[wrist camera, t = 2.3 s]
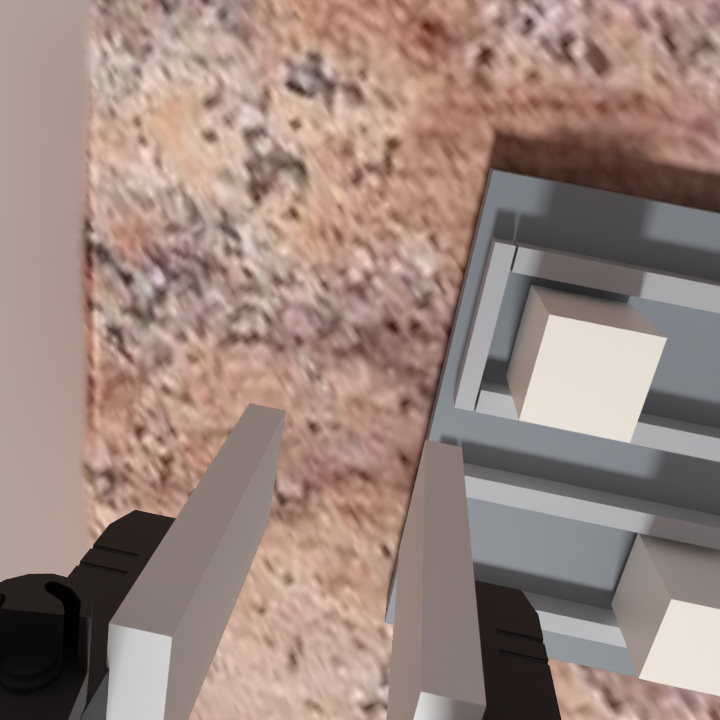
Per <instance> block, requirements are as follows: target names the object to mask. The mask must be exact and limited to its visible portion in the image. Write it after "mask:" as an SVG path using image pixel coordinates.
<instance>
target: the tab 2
mask: <svg viewBox="0 0 720 720" xmlns="http://www.w3.org/2000/svg"><path fill="white" fill-rule="evenodd" d="M611 606H612V609H613V611H614V614H615V617H616V619H617V622H618V625H619V627H620V630H621V633H622V635H623V638H624V641H625V644H626V646H627V649H628V652H629V654H630V657H631V660H632V662H633V665H634V668H635V670H636V673H637V676H638V678H639V679H643V680H648V681H652V682H657V683H661V684H666V685H671V686H675V687H680V688H685V689H689V690H694V691H698V692H703V693H708V694H712V695H717V696H720V550H718V549H713V548H708V547H703V546H699V545H694V544H689V543H684V542H679V541H675V540H670V539H665V538H660V537H656V536H651V535H646V534H641V533H638V534H637V537H636V540H635V542H634V545H633V548H632V550H631V553H630V555H629V558H628V561H627V563H626V566H625V569H624V571H623V574H622V577H621V579H620V582H619V585H618V587H617V590H616V592H615V595H614V598H613V600H612V603H611Z"/></svg>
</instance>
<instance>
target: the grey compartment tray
mask: <svg viewBox="0 0 720 720" xmlns="http://www.w3.org/2000/svg"><path fill="white" fill-rule="evenodd" d="M531 285H536V286H541V287H546V288H552V289H557V290H562V291H567V292H572V293H577V294H582V295H587V296H592V297H597V298H602V299H607V300H612V301H617V302H622V303H627V304H631V305H632V306H633V307H634V308H635V309H636V310H637V311H638V312H639V313H640V314H642V315H643V316H644V317H645V318H646V319H647V320H648V321H649V322H650V323H651V324H652V325H654V326H655V327H656V328H657V329H658V330H659V331H660V332H661V333H662V334H663V335H664V336H665V337H667V340H666V343H665V345H664V348H663V351H662V354H661V357H660V359H659V362H658V365H657V368H656V371H655V374H654V376H653V379H652V382H651V385H650V388H649V391H648V393H647V396H646V399H645V402H644V405H643V407H642V410H641V413H640V416H639V419H638V422H637V424H636V427H635V430H634V433H633V436H632V438H631V441H630V443H628V442H623V441H618V440H613V439H608V438H603V437H598V436H593V435H589V434H584V433H579V432H574V431H569V430H564V429H559V428H554V427H550V426H545V425H540V424H535V423H530V422H525V421H520V420H519V419H518V415H517V412H516V408H515V405H514V401H513V398H512V395H511V391H510V388H509V384H508V381H507V378H506V374H507V371H508V367H509V363H510V360H511V356H512V352H513V349H514V345H515V341H516V338H517V334H518V330H519V327H520V323H521V319H522V316H523V312H524V308H525V305H526V301H527V297H528V294H529V290H530V287H531ZM425 440H429V441H434V442H439V443H444V444H449V445H454V446H458V447H462V454H463V465H464V476H465V486H466V497H467V507H468V518H469V529H470V539H471V550H472V560H473V571H474V580H477V581H481V582H486V583H491V584H495V585H500V586H505V587H509V588H514V589H519V590H522V592H523V593H524V595H525V596H526V598H527V599H528V600H529V602H530V603H531V605H532V606H533V607H534V609H535V610H536V612H537V613H538V615H539V620H540V624H541V629H542V634H543V638H544V640H543V644H545V647H546V652H547V657H548V658H551V659H556V660H561V661H565V662H570V663H575V664H579V665H584V666H589V667H593V668H598V669H602V670H607V671H612V672H616V673H621V674H626V675H630V676H635V677H638V676H637V673H636V670H635V668H634V665H633V662H632V660H631V657H630V654H629V652H628V649H627V646H626V644H625V641H624V638H623V635H622V633H621V630H620V627H619V625H618V622H617V619H616V617H615V614H614V611H613V609H612V606H611V603H612V600H613V598H614V595H615V592H616V590H617V587H618V585H619V582H620V579H621V577H622V574H623V571H624V569H625V566H626V563H627V561H628V558H629V555H630V553H631V550H632V548H633V545H634V542H635V540H636V537H637V534H638V533H641V534H646V535H651V536H656V537H660V538H665V539H670V540H675V541H679V542H684V543H689V544H694V545H699V546H703V547H708V548H713V549H718V550H720V212H717V211H712V210H707V209H701V208H696V207H691V206H686V205H681V204H676V203H670V202H665V201H660V200H655V199H650V198H645V197H640V196H634V195H629V194H624V193H619V192H614V191H609V190H603V189H598V188H593V187H588V186H583V185H578V184H572V183H567V182H562V181H557V180H552V179H547V178H541V177H536V176H531V175H526V174H521V173H516V172H510V171H505V170H500V169H495V168H490V170H489V174H488V178H487V182H486V187H485V191H484V195H483V199H482V203H481V208H480V212H479V216H478V220H477V224H476V229H475V233H474V237H473V241H472V245H471V250H470V254H469V258H468V262H467V266H466V271H465V275H464V279H463V283H462V287H461V292H460V296H459V300H458V304H457V309H456V313H455V317H454V321H453V325H452V330H451V334H450V338H449V342H448V346H447V351H446V355H445V359H444V363H443V367H442V372H441V376H440V380H439V384H438V388H437V393H436V397H435V401H434V405H433V410H432V414H431V418H430V422H429V426H428V431H427V435H426V439H425ZM423 448H424V447H423ZM418 469H419V468H418ZM414 486H415V485H414ZM413 490H414V489H413ZM409 507H410V506H409ZM408 511H409V510H408ZM404 528H405V527H404ZM399 549H400V548H399ZM398 559H399V553H398V557H397V561H396V565H395V569H394V574H393V578H392V582H391V586H390V590H389V595H388V599H387V604H386V615H385V623H390V624H394V613H395V600H396V586H397V573H398Z"/></svg>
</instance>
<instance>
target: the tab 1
mask: <svg viewBox="0 0 720 720" xmlns="http://www.w3.org/2000/svg"><path fill="white" fill-rule="evenodd" d="M666 340H667V337H665V336H664V335H663V334H662V333H661V332H660V331H659V330H658V329H657V328H656V327H655V326H654V325H652V324H651V323H650V322H649V321H648V320H647V319H646V318H645V317H644V316H643V315H642V314H640V313H639V312H638V311H637V310H636V309H635V308H634V307H633V306H632V305H631V304H627V303H622V302H617V301H612V300H607V299H602V298H597V297H592V296H587V295H582V294H577V293H572V292H567V291H562V290H557V289H552V288H546V287H541V286H536V285H531V287H530V290H529V294H528V297H527V301H526V305H525V308H524V312H523V316H522V319H521V323H520V327H519V330H518V334H517V338H516V341H515V345H514V349H513V352H512V356H511V360H510V363H509V367H508V371H507V374H506V378H507V381H508V384H509V388H510V391H511V395H512V398H513V401H514V405H515V408H516V412H517V415H518V419H519V420H520V421H525V422H530V423H535V424H540V425H545V426H550V427H554V428H559V429H564V430H569V431H574V432H579V433H584V434H589V435H593V436H598V437H603V438H608V439H613V440H618V441H623V442H628V443H630V441H631V438H632V436H633V433H634V430H635V427H636V424H637V422H638V419H639V416H640V413H641V410H642V407H643V405H644V402H645V399H646V396H647V393H648V391H649V388H650V385H651V382H652V379H653V376H654V374H655V371H656V368H657V365H658V362H659V359H660V357H661V354H662V351H663V348H664V345H665V343H666Z"/></svg>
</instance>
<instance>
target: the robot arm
mask: <svg viewBox="0 0 720 720" xmlns="http://www.w3.org/2000/svg"><path fill="white" fill-rule="evenodd" d="M284 418H285V411H284V410H280V409H275V408H270V407H265V406H260V405H255V404H251V403H250V404H249V405H248V407H247V408H246V410H245V412H244V413H243V415H242V416H241V418H240V419H239V421H238V423H237V424H236V426H235V427H234V429H233V430H232V432H231V433H230V435H229V437H228V438H227V440H226V441H225V443H224V444H223V446H222V447H221V449H220V451H219V452H218V454H217V455H216V457H215V458H214V460H213V462H212V463H211V465H210V466H209V468H208V469H207V471H206V472H205V474H204V476H203V477H202V479H201V480H200V482H199V483H198V485H197V487H196V488H195V490H194V491H193V493H192V494H191V496H190V497H189V499H188V501H187V502H186V504H185V505H184V507H183V508H182V510H181V512H180V513H179V515H178V516H177V518H171V517H166V516H161V515H157V514H152V513H147V512H143V511H138V510H134V511H132V512H131V513H129V514H127V515H125V516H124V517H122V518H120V519H118V520H116V521H115V522H113V523H111V524H109V526H108V527H107V528H106V530H105V531H104V532H103V533H102V535H101V536H100V537H99V538H98V540H97V541H96V542H95V543H94V545H93V548H92V549H90V550H89V551H88V552H87V553H86V555H85V556H84V557H83V558H82V560H81V561H80V564H79V566H76V567H75V568H74V570H73V571H72V572H71V574H70V575H69V576H68V577H63V576H59V575H56V574H27V575H23V576H19V577H15V578H11V579H6V580H4V581H2V582H0V720H188V719H189V717H190V714H191V712H192V709H193V707H194V704H195V702H196V699H197V697H198V694H199V692H200V689H201V687H202V684H203V682H204V680H205V677H206V675H207V672H208V670H209V667H210V665H211V662H212V660H213V657H214V655H215V652H216V650H217V647H218V645H219V642H220V640H221V638H222V635H223V633H224V630H225V628H226V625H227V623H228V620H229V618H230V615H231V613H232V610H233V608H234V605H235V603H236V601H237V598H238V596H239V593H240V591H241V588H242V586H243V583H244V581H245V578H246V576H247V573H248V571H249V568H250V566H251V563H252V561H253V559H254V556H255V554H256V551H257V549H258V546H259V544H260V541H261V539H262V536H263V534H264V531H265V529H266V526H267V524H268V521H269V514H270V508H271V501H272V495H273V488H274V482H275V476H276V469H277V463H278V456H279V450H280V443H281V437H282V431H283V424H284ZM543 640H544V638H543V634H542V629H541V624H540V620H539V615H538V613H537V612H536V610H535V609H534V607H533V606H532V605H531V603H530V602H529V600H528V599H527V598H526V596H525V595H524V593H523V592H522V590H519V589H514V588H509V587H505V586H500V585H495V584H491V583H486V582H481V581H477V580H474V571H473V560H472V550H471V539H470V529H469V518H468V507H467V497H466V486H465V476H464V465H463V454H462V447H458V446H454V445H449V444H444V443H439V442H434V441H429V440H425V443H424V448H423V452H422V456H421V460H420V464H419V469H418V473H417V477H416V481H415V486H414V490H413V494H412V498H411V502H410V507H409V511H408V515H407V519H406V523H405V528H404V532H403V536H402V540H401V544H400V549H399V559H398V573H397V586H396V600H395V613H394V627H393V640H392V654H391V668H390V681H389V695H388V708H387V720H561V716H560V712H559V707H558V703H557V698H556V693H555V689H554V684H553V680H552V675H551V670H550V666H549V665H548V657H547V652H546V647H545V644H543Z"/></svg>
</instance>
